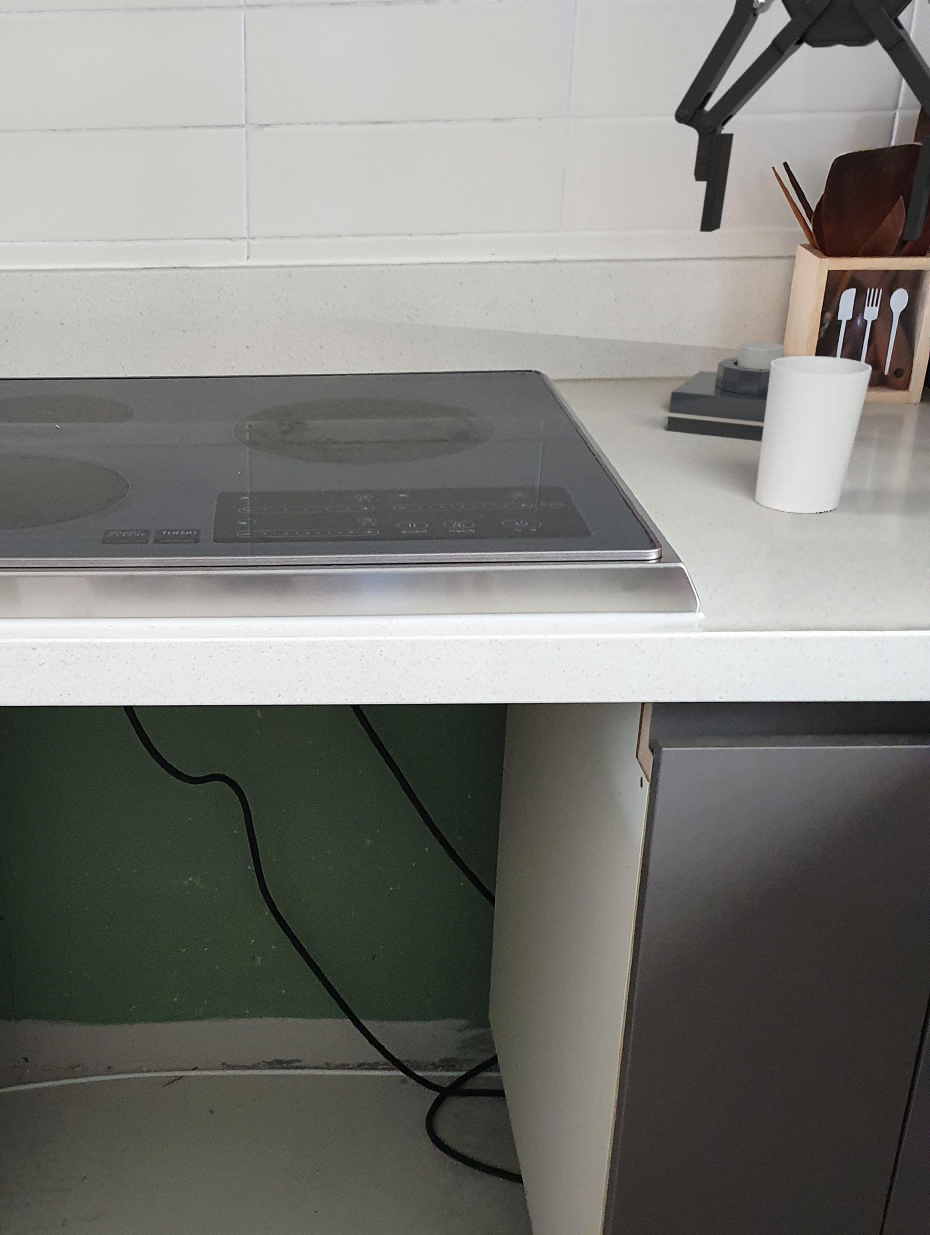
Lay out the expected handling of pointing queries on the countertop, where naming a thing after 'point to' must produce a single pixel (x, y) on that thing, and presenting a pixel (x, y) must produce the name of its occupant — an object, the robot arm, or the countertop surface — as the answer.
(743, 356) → the pale grey short cylinder
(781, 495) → the white cup
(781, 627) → the countertop surface
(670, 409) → the push button base
